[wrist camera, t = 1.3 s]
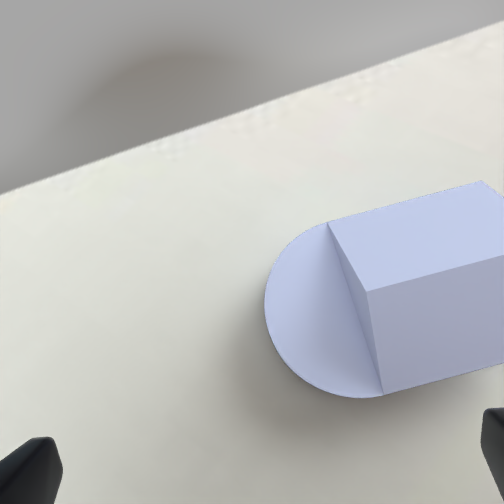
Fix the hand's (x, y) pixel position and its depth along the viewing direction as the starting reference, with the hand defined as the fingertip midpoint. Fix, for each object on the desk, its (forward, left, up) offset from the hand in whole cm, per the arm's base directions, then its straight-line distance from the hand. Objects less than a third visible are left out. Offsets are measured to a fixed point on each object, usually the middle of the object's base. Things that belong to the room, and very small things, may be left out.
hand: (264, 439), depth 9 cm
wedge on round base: (+3, -7, -16) cm, 17 cm away
